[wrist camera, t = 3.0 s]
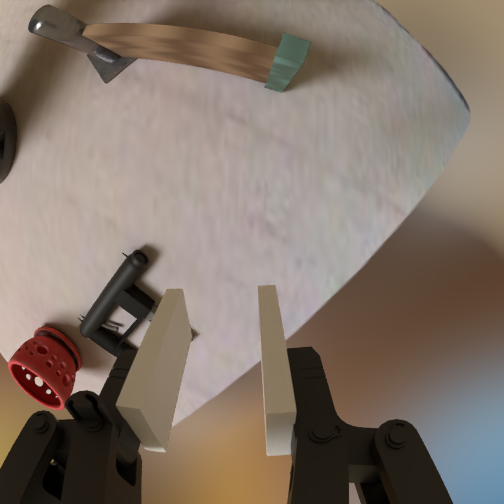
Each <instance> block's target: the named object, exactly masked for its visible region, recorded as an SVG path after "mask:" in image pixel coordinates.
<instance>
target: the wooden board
mask: <svg viewBox="0 0 504 504" xmlns="http://www.w3.org/2000/svg"><path fill="white" fill-rule="evenodd" d="M82 35H83V36H85V37H87V38H88V39H90V40H92V41H94V42H96V43H98V44H100V45H102V46H104V47H106V48H107V49H109V50H111V51H113V52H115V53H117V54H118V55H120V56H122V57H129V58H140V59H150V60H159V61H166V62H173V63H180V64H186V65H191V66H197V67H202V68H207V69H212V70H216V71H221V72H225V73H229V74H233V75H237V76H241V77H245V78H249V79H252V80H256V81H259V82H263V83H266V85H265V88H268V89H271V90H275V91H278V92H281V93H282V92H283V90H284V89H285V87H286V86H287V85H288V83H289V82H290V81H291V79H292V78H293V77H294V75H295V74H296V73H297V71H298V70H299V69H300V67H301V66H302V65H303V63H304V60H305V57H306V55H307V52H308V49H309V46H310V43H311V42H309V41H307V40H304V39H301V38H298V37H295V36H292V35H289V34H286V33H284V34H283V37H282V39H281V42H280V45H279V47H275V46H272V45H269V44H265V43H261V42H258V41H254V40H250V39H246V38H242V37H238V36H233V35H228V34H224V33H218V32H213V31H207V30H201V29H194V28H187V27H179V26H169V25H157V24H138V23H105V24H87V25H86V27H85V29H84V32H83V34H82Z"/></svg>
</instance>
